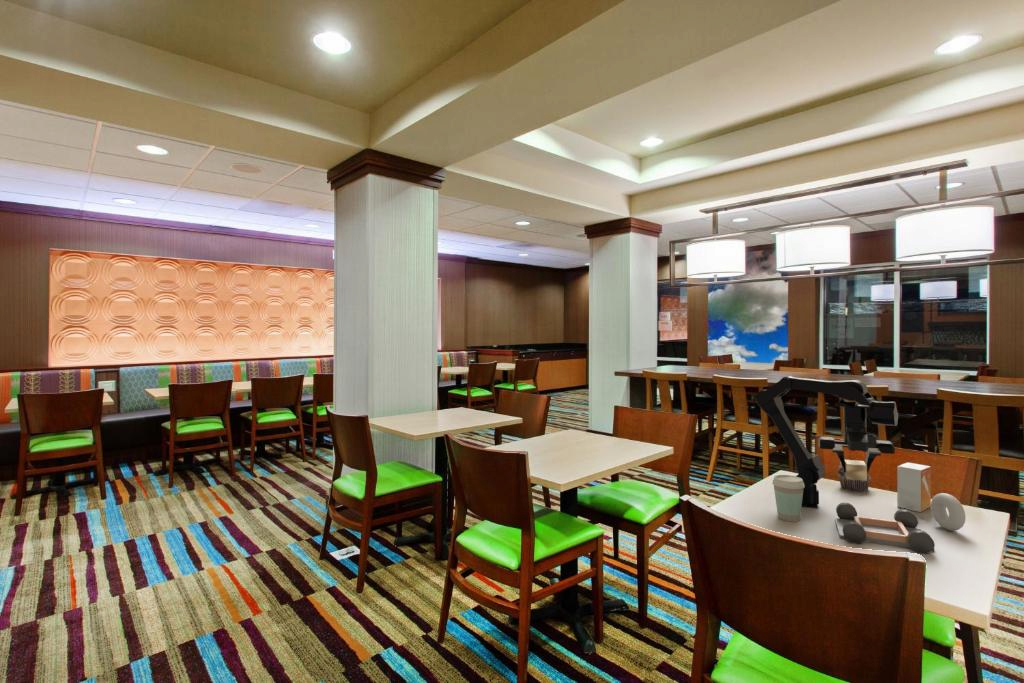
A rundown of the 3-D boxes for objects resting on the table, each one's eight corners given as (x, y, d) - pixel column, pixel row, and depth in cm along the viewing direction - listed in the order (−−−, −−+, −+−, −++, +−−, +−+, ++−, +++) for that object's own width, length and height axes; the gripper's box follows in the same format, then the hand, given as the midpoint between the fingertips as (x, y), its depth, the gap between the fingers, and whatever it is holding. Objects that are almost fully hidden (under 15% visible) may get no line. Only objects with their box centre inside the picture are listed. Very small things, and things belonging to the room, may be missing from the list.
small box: (921, 512, 154) (921, 470, 154) (896, 507, 159) (896, 465, 159) (931, 507, 158) (931, 466, 158) (907, 502, 164) (906, 461, 163)
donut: (927, 522, 146) (927, 488, 146) (940, 522, 146) (939, 488, 146) (955, 536, 136) (955, 499, 136) (969, 536, 136) (969, 499, 136)
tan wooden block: (846, 478, 152) (846, 464, 152) (844, 473, 158) (844, 459, 157) (867, 480, 150) (866, 465, 150) (863, 475, 155) (863, 461, 155)
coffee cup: (801, 514, 155) (801, 475, 154) (808, 524, 147) (807, 483, 146) (770, 511, 157) (770, 473, 157) (775, 521, 149) (774, 481, 149)
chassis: (841, 541, 134) (841, 522, 134) (834, 517, 151) (833, 501, 151) (937, 555, 125) (937, 535, 125) (918, 528, 142) (918, 510, 142)
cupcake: (861, 494, 172) (861, 465, 172) (832, 487, 180) (831, 459, 180) (876, 489, 177) (876, 461, 176) (847, 482, 185) (846, 455, 185)
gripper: (821, 424, 151) (821, 476, 151) (898, 428, 142) (899, 484, 142) (818, 418, 160) (818, 467, 161) (890, 422, 152) (891, 474, 152)
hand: (855, 473), depth 154 cm, fingers closed on tan wooden block, 5 cm apart
